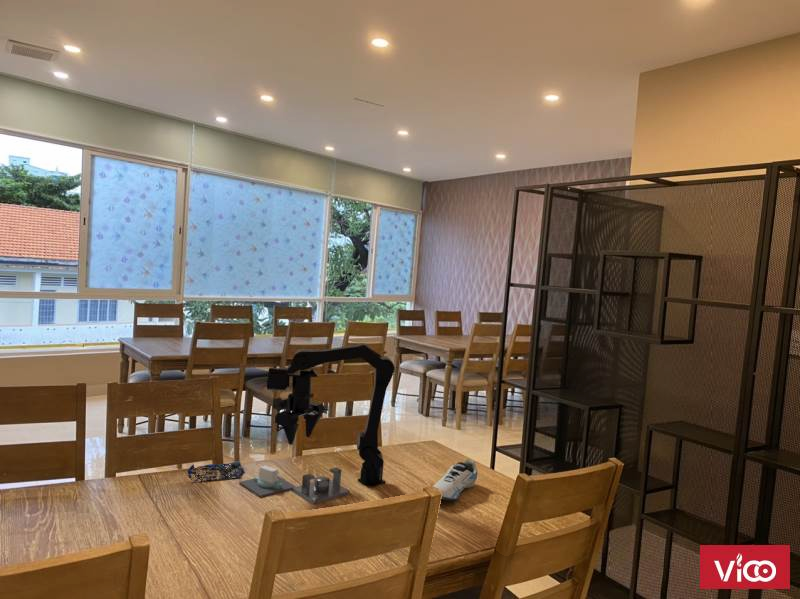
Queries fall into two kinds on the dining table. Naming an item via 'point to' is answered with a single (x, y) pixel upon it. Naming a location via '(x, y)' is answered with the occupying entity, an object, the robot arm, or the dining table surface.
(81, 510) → the dining table surface
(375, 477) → the robot arm
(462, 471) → the running shoe
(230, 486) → the dining table surface
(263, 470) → the cap
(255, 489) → the mat
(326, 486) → the grey plate with upright
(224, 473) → the dark blue patterned slab
